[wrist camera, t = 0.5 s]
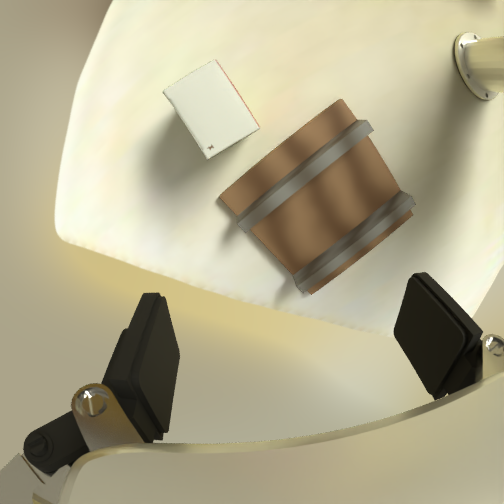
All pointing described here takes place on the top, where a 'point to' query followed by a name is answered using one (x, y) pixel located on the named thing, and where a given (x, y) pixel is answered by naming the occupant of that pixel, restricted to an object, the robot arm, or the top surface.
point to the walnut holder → (320, 198)
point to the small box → (211, 109)
